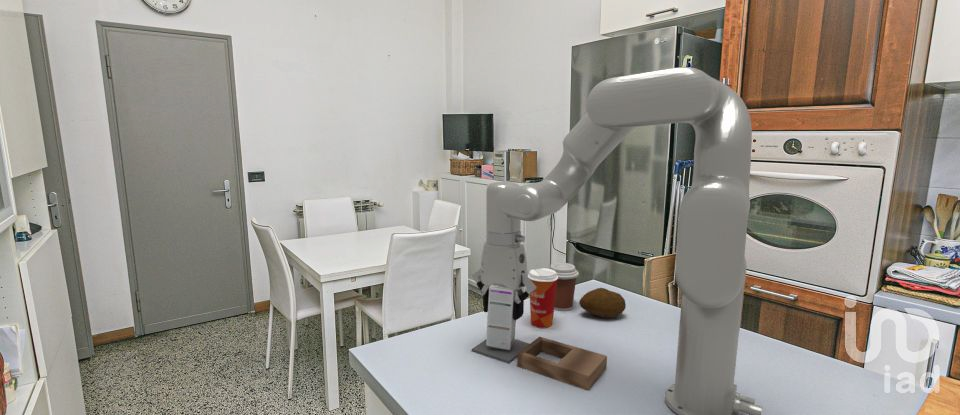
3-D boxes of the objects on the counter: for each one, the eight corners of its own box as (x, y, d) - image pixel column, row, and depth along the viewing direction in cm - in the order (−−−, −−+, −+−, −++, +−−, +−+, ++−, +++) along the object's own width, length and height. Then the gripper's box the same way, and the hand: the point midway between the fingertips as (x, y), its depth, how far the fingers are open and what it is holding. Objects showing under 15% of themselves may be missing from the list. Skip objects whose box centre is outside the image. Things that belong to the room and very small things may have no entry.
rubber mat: (531, 346, 108) (531, 344, 108) (509, 363, 100) (509, 361, 100) (495, 335, 114) (495, 333, 114) (471, 351, 106) (471, 348, 106)
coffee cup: (566, 299, 139) (567, 260, 137) (584, 309, 131) (585, 268, 129) (539, 303, 136) (540, 263, 134) (555, 314, 127) (557, 272, 125)
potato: (630, 321, 123) (631, 293, 122) (584, 323, 122) (585, 294, 120) (618, 309, 131) (619, 283, 130) (575, 311, 130) (576, 284, 128)
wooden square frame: (606, 369, 98) (607, 355, 98) (588, 390, 90) (588, 376, 90) (538, 348, 107) (539, 336, 107) (517, 366, 99) (517, 353, 99)
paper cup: (521, 320, 123) (522, 269, 121) (546, 315, 126) (547, 266, 124) (537, 332, 116) (538, 278, 114) (562, 326, 119) (564, 274, 117)
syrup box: (510, 350, 104) (515, 289, 101) (484, 346, 105) (489, 285, 102) (514, 339, 109) (519, 280, 106) (490, 334, 110) (494, 277, 107)
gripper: (546, 240, 101) (544, 317, 104) (480, 230, 111) (480, 301, 114) (529, 247, 95) (528, 329, 98) (461, 236, 105) (462, 311, 108)
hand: (502, 313), depth 106 cm, fingers closed on syrup box, 7 cm apart
